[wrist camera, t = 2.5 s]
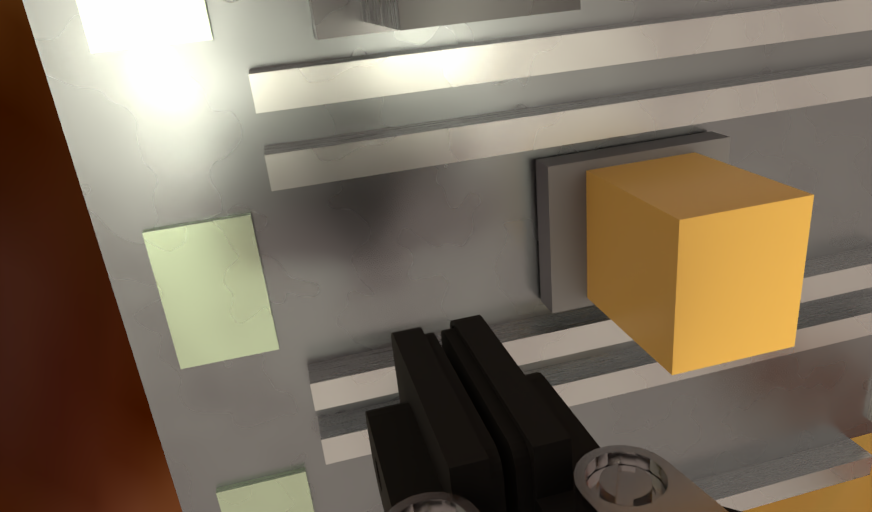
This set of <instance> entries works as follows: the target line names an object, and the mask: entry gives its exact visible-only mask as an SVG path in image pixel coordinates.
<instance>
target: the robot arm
mask: <svg viewBox="0 0 872 512" xmlns="http://www.w3.org/2000/svg"><path fill="white" fill-rule="evenodd" d="M391 342H392V349H393V357H394V364H395V371H396V378H397V385H398V392H399V399H400V403H399V404H394V405H390V406H386V407H381V408H377V409H372V410H368V411H365V416H366V423H367V429H368V435H369V441H370V447H371V453H372V459H373V464H374V469H375V474H376V479H377V484H378V488H379V493H380V497H381V501H382V505H383V509H384V512H742V511H738V510H735V509H731V508H727V507H724V506H721V505H720V504H719V503H717V502H716V501H715V500H714V499H713V498H711V497H710V496H709V495H708V494H707V493H705V492H704V491H703V490H702V489H701V488H699V487H698V486H697V485H696V484H695V483H693V482H692V481H691V480H690V479H689V478H687V477H686V476H685V475H684V474H682V473H681V472H680V471H679V470H678V469H676V468H675V467H674V466H673V465H672V464H670V463H669V462H668V461H667V460H665V459H664V458H662V457H660V456H659V455H657V454H656V453H654V452H651V451H648V450H646V449H643V448H640V447H634V446H628V445H610V446H605V447H601V448H600V446H599V445H598V444H597V443H596V441H595V440H594V439H593V437H592V436H591V435H590V434H589V432H588V431H587V430H586V429H585V427H584V426H583V425H582V423H581V422H580V421H579V420H578V418H577V417H576V416H575V415H574V413H573V412H572V411H571V410H570V408H569V407H568V406H567V404H566V403H565V402H564V401H563V399H562V398H561V397H560V396H559V394H558V393H557V392H556V391H555V389H554V388H553V387H552V385H551V384H550V383H549V382H548V380H547V379H546V378H545V377H544V376H543V375H542V374H541V373H539V372H535V373H531V374H526V375H525V374H524V373H523V371H522V370H521V369H520V367H519V366H518V365H517V363H516V362H515V361H514V359H513V358H512V357H511V355H510V354H509V352H508V351H507V350H506V348H505V347H504V346H503V344H502V343H501V342H500V340H499V339H498V338H497V336H496V335H495V334H494V332H493V331H492V329H491V328H490V327H489V325H488V324H487V323H486V321H485V320H484V319H483V317H482V316H481V315H475V316H470V317H465V318H461V319H456V320H451V322H450V329H445V330H442V331H441V342H442V346H441V344H440V343H439V341H438V339H437V337H436V335H435V334H434V332H431V333H426V334H424V332H423V330H422V328H421V327H417V328H412V329H407V330H402V331H398V332H393V333H391Z"/></svg>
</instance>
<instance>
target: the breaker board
mask: <svg viewBox="0 0 872 512" xmlns="http://www.w3.org/2000/svg"><path fill="white" fill-rule="evenodd" d="M22 1H23V4H24V7H25V10H26V13H27V17H28V20H29V23H30V26H31V29H32V33H33V36H34V39H35V42H36V45H37V49H38V52H39V55H40V58H41V61H42V64H43V68H44V71H45V74H46V77H47V80H48V84H49V87H50V90H51V93H52V96H53V100H54V103H55V106H56V109H57V112H58V116H59V119H60V122H61V125H62V128H63V131H64V135H65V138H66V141H67V144H68V147H69V151H70V154H71V157H72V160H73V163H74V167H75V170H76V173H77V176H78V179H79V183H80V186H81V189H82V192H83V195H84V199H85V202H86V205H87V208H88V211H89V214H90V218H91V221H92V224H93V227H94V230H95V234H96V237H97V240H98V243H99V246H100V250H101V253H102V256H103V259H104V262H105V266H106V269H107V272H108V275H109V278H110V281H111V285H112V288H113V291H114V294H115V297H116V301H117V304H118V307H119V310H120V313H121V317H122V320H123V323H124V326H125V329H126V333H127V336H128V339H129V342H130V345H131V349H132V352H133V355H134V358H135V361H136V364H137V368H138V371H139V374H140V377H141V380H142V384H143V387H144V390H145V393H146V396H147V400H148V403H149V406H150V409H151V412H152V416H153V419H154V422H155V425H156V428H157V431H158V435H159V438H160V441H161V444H162V447H163V451H164V454H165V457H166V460H167V463H168V467H169V470H170V473H171V476H172V479H173V483H174V486H175V489H176V492H177V495H178V498H179V502H180V505H181V508H182V511H183V512H384V509H383V505H382V501H381V497H380V493H379V488H378V484H377V479H376V474H375V469H374V464H373V459H372V453H371V447H370V441H369V435H368V429H367V423H366V416H365V411H368V410H372V409H377V408H381V407H386V406H390V405H394V404H399V403H400V399H399V392H398V385H397V378H396V371H395V364H394V357H393V349H392V342H391V333H393V332H398V331H402V330H407V329H412V328H417V327H421V328H422V330H423V332H424V334H426V333H431V332H434V334H435V335H436V337H437V339H438V341H439V343H440V344H441V346H442V342H441V331H442V330H445V329H450V322H451V320H456V319H461V318H465V317H470V316H475V315H481V316H482V317H483V319H484V320H485V321H486V323H487V324H488V325H489V327H490V328H491V329H492V331H493V332H494V334H495V335H496V336H497V338H498V339H499V340H500V342H501V343H502V344H503V346H504V347H505V348H506V350H507V351H508V352H509V354H510V355H511V357H512V358H513V359H514V361H515V362H516V363H517V365H518V366H519V367H520V369H521V370H522V371H523V373H524V374H525V375H526V374H531V373H535V372H539V373H541V374H542V375H543V376H544V377H545V378H546V379H547V380H548V382H549V383H550V384H551V385H552V387H553V388H554V389H555V391H556V392H557V393H558V394H559V396H560V397H561V398H562V399H563V401H564V402H565V403H566V404H567V406H568V407H569V408H570V410H571V411H572V412H573V413H574V415H575V416H576V417H577V418H578V420H579V421H580V422H581V423H582V425H583V426H584V427H585V429H586V430H587V431H588V432H589V434H590V435H591V436H592V437H593V439H594V440H595V441H596V443H597V444H598V445H599V446H600V448H601V447H605V446H610V445H628V446H634V447H640V448H643V449H646V450H648V451H651V452H654V453H656V454H657V455H659V456H660V457H662V458H664V459H665V460H667V461H668V462H669V463H670V464H672V465H673V466H674V467H675V468H676V469H678V470H679V471H680V472H681V473H682V474H684V475H685V476H686V477H687V478H689V479H690V480H691V481H692V482H693V483H695V484H696V485H697V486H698V487H699V488H701V489H702V490H703V491H704V492H705V493H707V494H708V495H709V496H710V497H711V498H713V499H714V500H715V501H716V502H717V503H719V504H720V505H721V506H724V507H727V508H731V509H735V510H738V511H744V510H748V509H751V508H755V507H758V506H762V505H765V504H769V503H772V502H776V501H779V500H783V499H786V498H790V497H793V496H797V495H800V494H804V493H807V492H811V491H814V490H818V489H821V488H825V487H828V486H832V485H835V484H839V483H842V482H846V481H849V480H853V479H856V478H860V477H863V476H867V475H870V470H871V465H872V455H871V454H870V453H868V452H867V451H866V450H864V449H863V448H862V447H860V446H859V445H858V444H856V443H855V442H854V441H852V440H851V439H850V438H854V437H857V436H861V435H865V434H868V433H872V0H22ZM710 131H712V132H715V133H719V134H722V135H726V136H729V137H730V150H729V163H728V164H729V165H732V166H735V167H738V168H740V169H743V170H746V171H749V172H752V173H754V174H757V175H760V176H763V177H766V178H769V179H771V180H774V181H777V182H780V183H783V184H785V185H788V186H791V187H794V188H797V189H799V190H802V191H805V192H808V193H811V194H813V195H814V200H813V207H812V215H811V223H810V230H809V238H808V246H807V253H806V261H805V269H804V277H803V284H802V292H801V300H800V307H799V315H798V323H797V330H796V338H795V346H794V347H790V348H786V349H781V350H777V351H773V352H769V353H764V354H760V355H756V356H752V357H748V358H743V359H739V360H735V361H731V362H726V363H722V364H718V365H714V366H709V367H705V368H701V369H697V370H693V371H688V372H684V373H680V374H676V375H671V374H670V373H669V372H668V371H667V370H666V369H664V368H663V367H662V366H661V365H660V364H659V363H658V362H657V361H656V360H655V359H654V358H652V357H651V356H650V355H649V354H648V353H647V352H646V351H645V350H644V349H643V348H641V347H640V346H639V345H638V344H637V343H636V342H635V341H634V340H633V339H632V338H631V337H629V336H628V335H627V334H626V333H625V332H624V331H623V330H622V329H621V328H620V327H619V326H617V325H616V324H615V323H614V322H613V321H612V320H611V319H610V318H609V317H608V316H607V315H605V314H604V313H603V312H602V311H601V310H600V309H599V308H598V307H597V306H596V305H591V306H586V307H581V308H576V309H572V310H567V311H562V312H557V313H553V314H552V312H551V311H550V310H549V309H548V308H547V307H546V306H545V305H544V304H543V303H542V302H541V292H540V266H539V240H538V214H537V187H536V161H535V160H536V159H542V158H548V157H555V156H561V155H567V154H573V153H579V152H586V151H592V150H598V149H604V148H610V147H617V146H623V145H629V144H635V143H641V142H648V141H654V140H660V139H666V138H672V137H679V136H685V135H691V134H697V133H703V132H710Z"/></svg>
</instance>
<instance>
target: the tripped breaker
mask: <svg viewBox="0 0 872 512" xmlns="http://www.w3.org/2000/svg"><path fill="white" fill-rule="evenodd" d="M729 150H730V137H729V136H726V135H722V134H719V133H715V132H712V131H710V132H703V133H697V134H691V135H685V136H679V137H672V138H666V139H660V140H654V141H648V142H641V143H635V144H629V145H623V146H617V147H610V148H604V149H598V150H592V151H586V152H579V153H573V154H567V155H561V156H555V157H548V158H542V159H536V160H535V161H536V187H537V214H538V240H539V266H540V292H541V302H542V303H543V304H544V305H545V306H546V307H547V308H548V309H549V310H550V311H551V312H552V314H553V313H557V312H562V311H567V310H572V309H576V308H581V307H586V306H591V305H596V306H597V307H598V308H599V309H600V310H601V311H602V312H603V313H604V314H605V315H607V316H608V317H609V318H610V319H611V320H612V321H613V322H614V323H615V324H616V325H617V326H619V327H620V328H621V329H622V330H623V331H624V332H625V333H626V334H627V335H628V336H629V337H631V338H632V339H633V340H634V341H635V342H636V343H637V344H638V345H639V346H640V347H641V348H643V349H644V350H645V351H646V352H647V353H648V354H649V355H650V356H651V357H652V358H654V359H655V360H656V361H657V362H658V363H659V364H660V365H661V366H662V367H663V368H664V369H666V370H667V371H668V372H669V373H670V374H671V375H676V374H680V373H684V372H688V371H693V370H697V369H701V368H705V367H709V366H714V365H718V364H722V363H726V362H731V361H735V360H739V359H743V358H748V357H752V356H756V355H760V354H764V353H769V352H773V351H777V350H781V349H786V348H790V347H794V346H795V338H796V330H797V323H798V315H799V307H800V300H801V292H802V284H803V277H804V269H805V261H806V253H807V246H808V238H809V230H810V223H811V215H812V207H813V200H814V195H813V194H811V193H808V192H805V191H802V190H799V189H797V188H794V187H791V186H788V185H785V184H783V183H780V182H777V181H774V180H771V179H769V178H766V177H763V176H760V175H757V174H754V173H752V172H749V171H746V170H743V169H740V168H738V167H735V166H732V165H729V164H728V163H729Z"/></svg>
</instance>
